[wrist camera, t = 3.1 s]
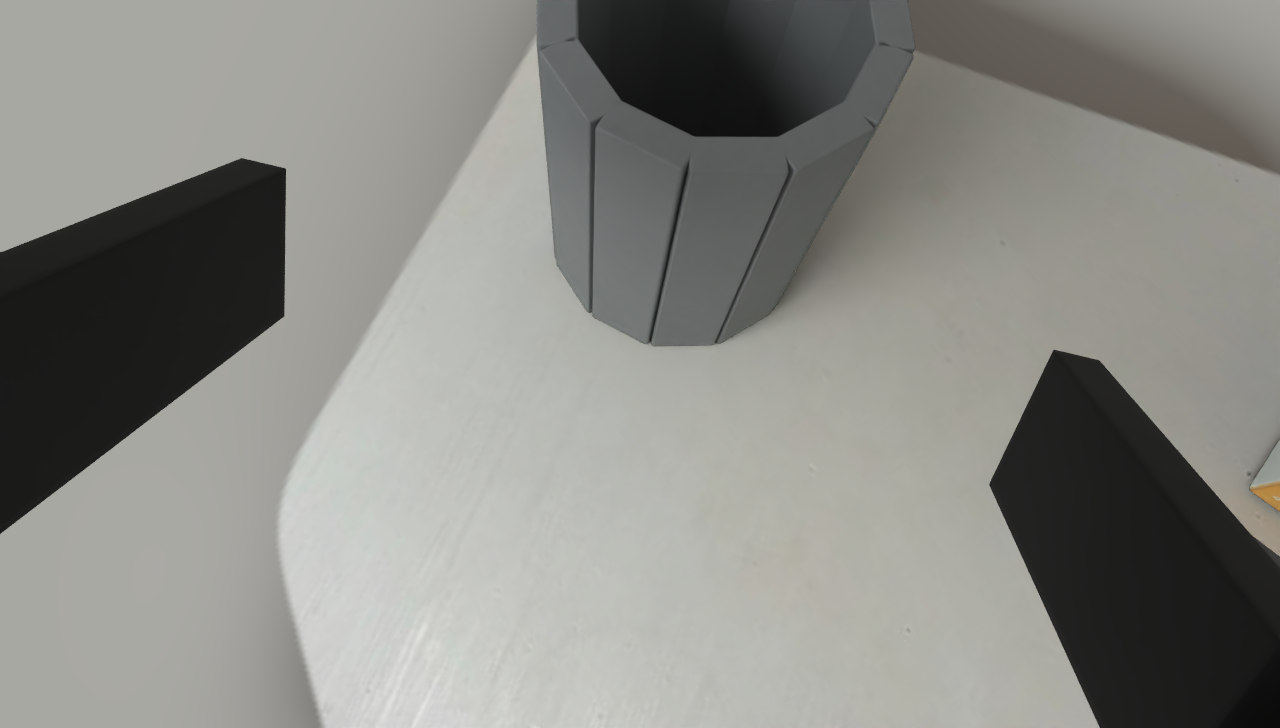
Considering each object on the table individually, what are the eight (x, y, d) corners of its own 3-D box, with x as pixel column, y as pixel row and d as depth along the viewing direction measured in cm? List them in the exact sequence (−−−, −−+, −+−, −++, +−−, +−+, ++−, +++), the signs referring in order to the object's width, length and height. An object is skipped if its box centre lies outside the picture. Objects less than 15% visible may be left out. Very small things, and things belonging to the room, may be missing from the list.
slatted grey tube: (509, 274, 31) (463, 62, 19) (627, 91, 34) (647, -188, 22) (731, 390, 30) (820, 240, 19) (834, 192, 33) (965, -44, 21)
